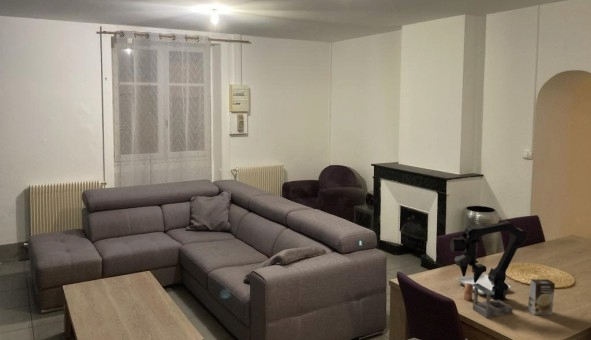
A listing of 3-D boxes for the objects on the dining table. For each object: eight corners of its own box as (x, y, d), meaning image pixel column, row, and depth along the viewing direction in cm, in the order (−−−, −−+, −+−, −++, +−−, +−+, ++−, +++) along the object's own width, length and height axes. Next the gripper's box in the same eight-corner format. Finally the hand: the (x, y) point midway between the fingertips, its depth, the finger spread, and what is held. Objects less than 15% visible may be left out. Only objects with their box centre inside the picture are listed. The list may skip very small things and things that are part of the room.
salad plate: (512, 292, 270) (512, 286, 269) (481, 298, 262) (481, 292, 262) (484, 278, 289) (484, 273, 289) (454, 283, 282) (454, 278, 281)
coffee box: (534, 315, 241) (536, 284, 239) (527, 309, 248) (529, 279, 245) (552, 315, 242) (555, 283, 239) (545, 309, 248) (548, 278, 245)
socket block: (496, 304, 254) (498, 280, 251) (513, 314, 242) (515, 289, 240) (471, 308, 249) (472, 284, 247) (487, 318, 238) (489, 293, 235)
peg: (468, 297, 262) (469, 283, 261) (473, 300, 259) (474, 285, 257) (462, 298, 261) (463, 283, 260) (467, 301, 257) (468, 286, 256)
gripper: (446, 247, 262) (445, 275, 264) (469, 258, 244) (467, 288, 247) (464, 244, 265) (463, 272, 268) (487, 255, 248) (486, 285, 250)
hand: (469, 279), depth 258 cm, fingers open, 9 cm apart
